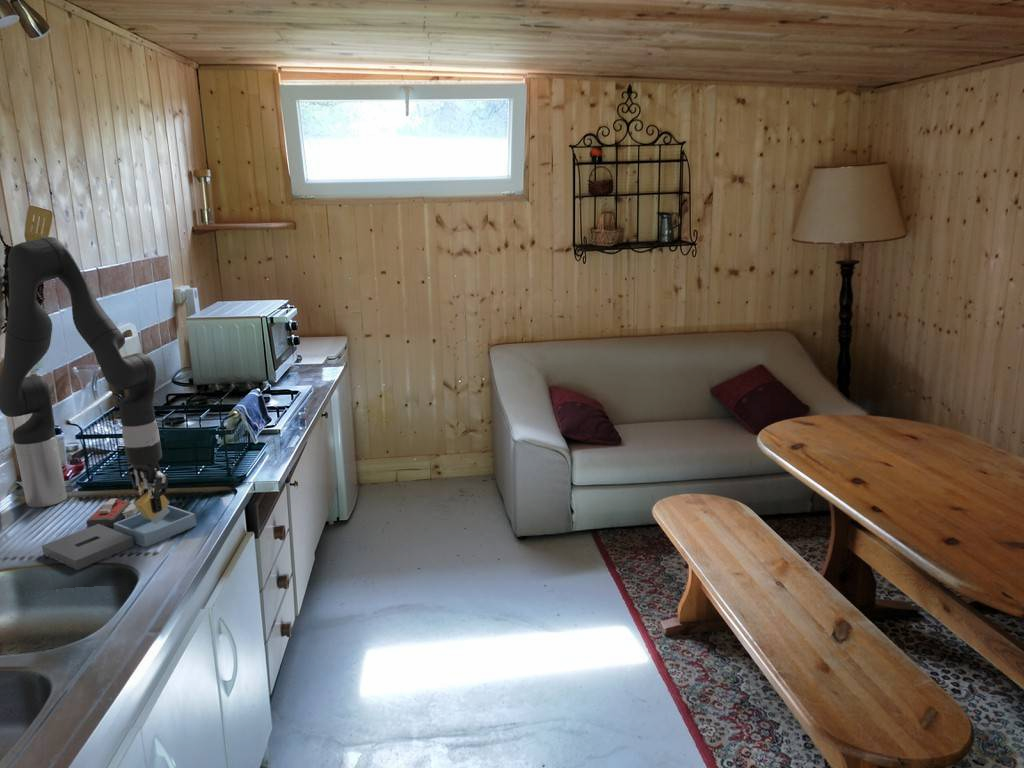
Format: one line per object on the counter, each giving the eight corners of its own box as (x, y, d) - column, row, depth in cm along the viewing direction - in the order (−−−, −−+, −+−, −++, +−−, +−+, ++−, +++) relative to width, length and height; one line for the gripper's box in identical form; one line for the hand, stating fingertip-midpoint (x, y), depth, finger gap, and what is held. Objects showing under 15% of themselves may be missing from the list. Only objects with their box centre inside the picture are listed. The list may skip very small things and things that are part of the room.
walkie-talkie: (121, 532, 186) (152, 498, 205) (119, 515, 185) (149, 483, 204) (83, 534, 186) (117, 500, 205) (80, 517, 184) (115, 485, 204)
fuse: (148, 524, 185) (133, 503, 182) (167, 507, 189) (152, 487, 185) (156, 527, 184) (141, 506, 180) (174, 510, 187) (160, 489, 183)
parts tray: (115, 535, 184) (113, 523, 183) (166, 514, 194) (164, 503, 193) (145, 547, 177) (143, 535, 176) (196, 525, 188) (194, 513, 187)
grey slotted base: (43, 554, 175) (41, 545, 174) (100, 532, 185) (98, 523, 185) (77, 570, 168) (75, 560, 167) (134, 545, 178) (132, 537, 177)
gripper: (109, 440, 180) (121, 510, 185) (144, 450, 173) (156, 522, 177) (139, 431, 186) (150, 498, 191) (174, 440, 179) (185, 510, 183)
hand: (153, 509), depth 184 cm, fingers closed on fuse, 2 cm apart
